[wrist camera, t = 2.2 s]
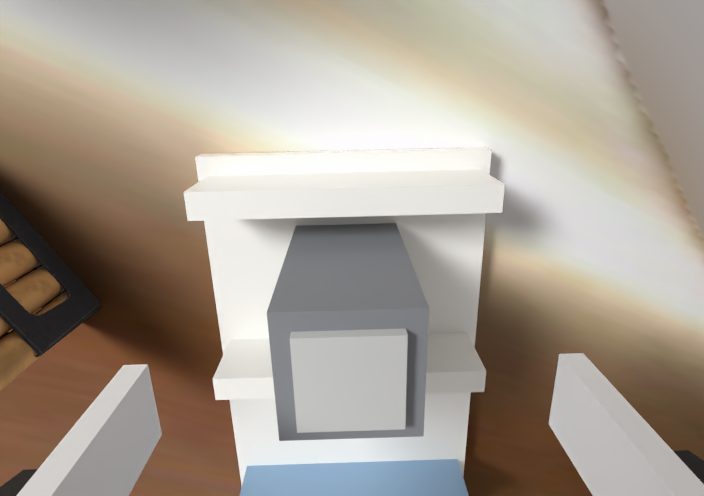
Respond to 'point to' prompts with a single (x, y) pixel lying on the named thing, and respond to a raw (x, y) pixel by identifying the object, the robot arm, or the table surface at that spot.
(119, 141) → the table surface
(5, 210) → the ammunition clip
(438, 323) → the slotted holder tray
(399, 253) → the plug
